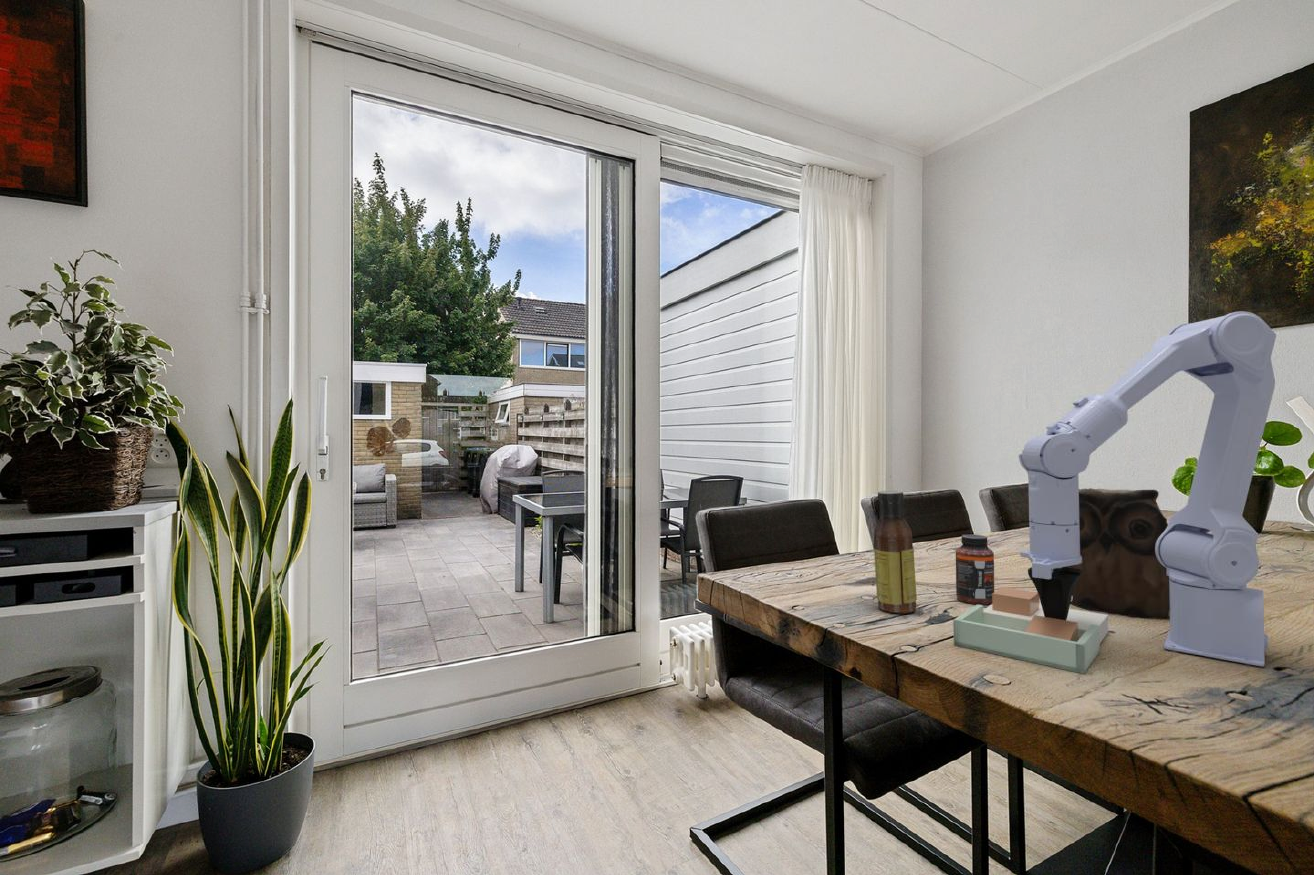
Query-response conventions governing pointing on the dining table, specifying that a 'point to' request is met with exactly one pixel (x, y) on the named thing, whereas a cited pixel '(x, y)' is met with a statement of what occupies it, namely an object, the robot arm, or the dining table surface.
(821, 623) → the dining table surface
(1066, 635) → the tile
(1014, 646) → the tray
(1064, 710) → the dining table surface
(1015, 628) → the board
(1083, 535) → the owl
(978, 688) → the dining table surface
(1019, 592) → the tile
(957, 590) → the supplement bottle
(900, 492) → the sauce bottle
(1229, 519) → the robot arm
